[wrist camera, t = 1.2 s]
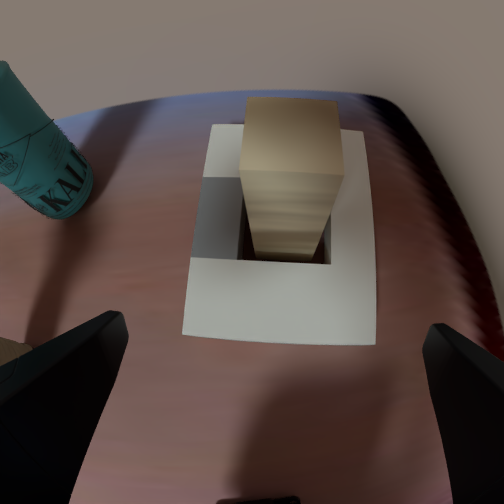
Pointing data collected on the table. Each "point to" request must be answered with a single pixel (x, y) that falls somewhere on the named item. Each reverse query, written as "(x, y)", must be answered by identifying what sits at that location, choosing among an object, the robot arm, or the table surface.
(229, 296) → the block
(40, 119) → the beverage bottle
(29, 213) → the table surface
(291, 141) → the plug
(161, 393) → the table surface
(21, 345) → the handle
